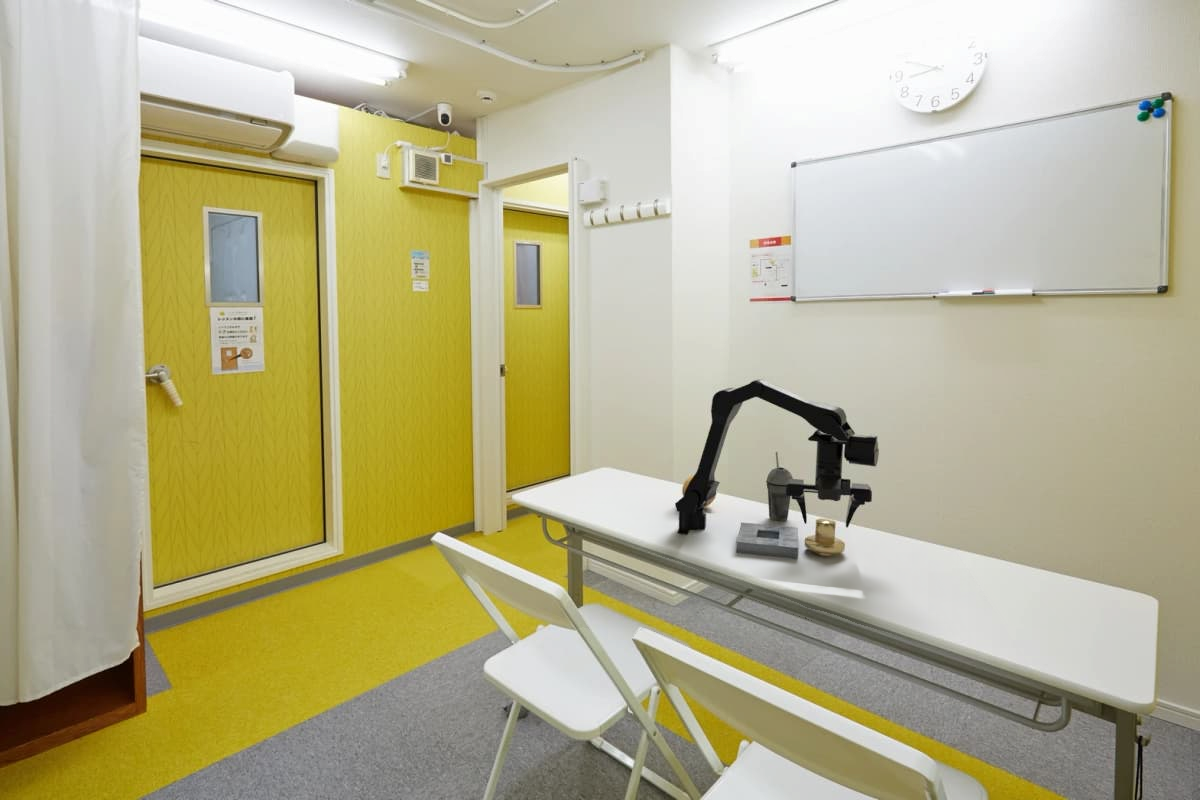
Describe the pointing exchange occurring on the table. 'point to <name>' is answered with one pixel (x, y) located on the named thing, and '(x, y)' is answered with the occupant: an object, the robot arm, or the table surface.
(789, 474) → the beverage cup
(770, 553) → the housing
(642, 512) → the table surface
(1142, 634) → the table surface
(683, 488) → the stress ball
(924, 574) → the table surface
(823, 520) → the end cover
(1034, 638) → the table surface
